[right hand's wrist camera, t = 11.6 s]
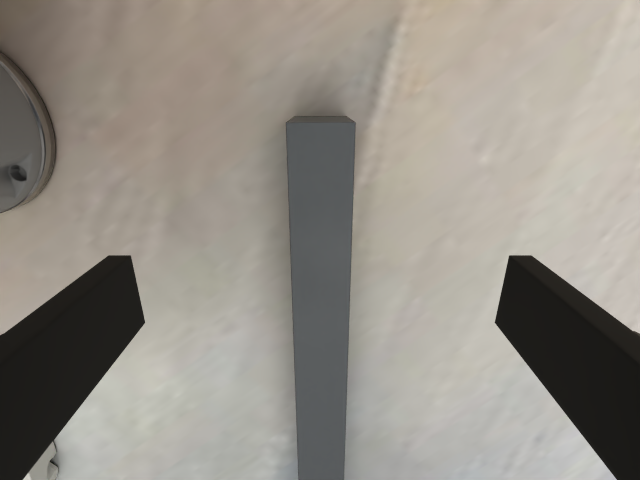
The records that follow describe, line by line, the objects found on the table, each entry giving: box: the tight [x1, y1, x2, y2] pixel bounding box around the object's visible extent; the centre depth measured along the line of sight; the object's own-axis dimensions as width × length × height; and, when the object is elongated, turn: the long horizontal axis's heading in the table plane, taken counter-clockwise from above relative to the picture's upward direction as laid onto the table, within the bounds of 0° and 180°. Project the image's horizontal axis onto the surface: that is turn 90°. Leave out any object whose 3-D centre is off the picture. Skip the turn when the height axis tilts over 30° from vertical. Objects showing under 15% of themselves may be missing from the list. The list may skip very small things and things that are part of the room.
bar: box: [286, 116, 356, 480], centre depth 38 cm, size 61×4×8 cm, turn 0°
